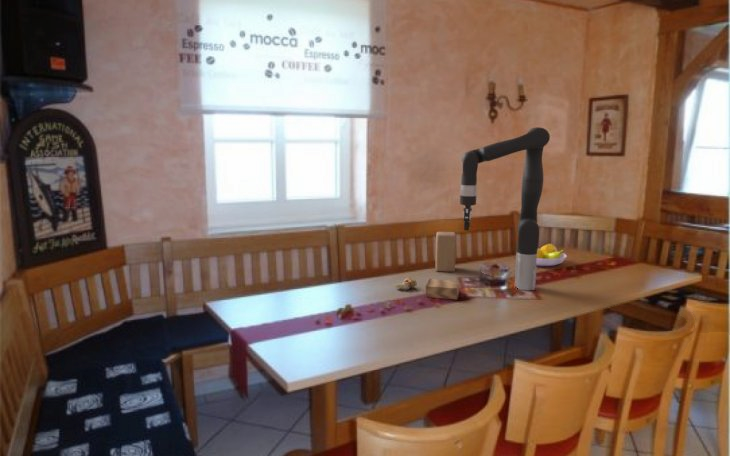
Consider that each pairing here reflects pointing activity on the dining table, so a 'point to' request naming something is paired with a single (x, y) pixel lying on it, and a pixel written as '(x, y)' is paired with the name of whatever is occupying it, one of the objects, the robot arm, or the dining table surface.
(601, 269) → the dining table surface
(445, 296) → the oak step
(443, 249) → the wooden block
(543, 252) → the fruit bowl
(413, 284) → the chocolate bunny
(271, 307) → the dining table surface
